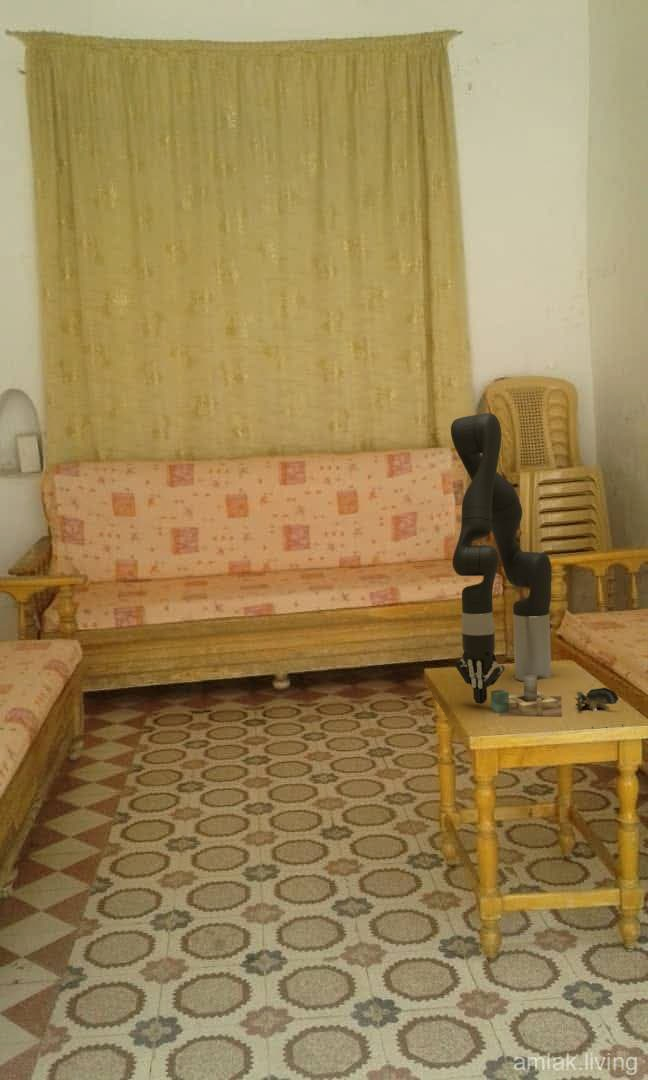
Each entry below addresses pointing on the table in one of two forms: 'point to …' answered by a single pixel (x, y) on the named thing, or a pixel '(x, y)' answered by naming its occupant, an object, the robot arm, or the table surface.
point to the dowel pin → (539, 706)
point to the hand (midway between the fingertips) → (480, 702)
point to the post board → (534, 714)
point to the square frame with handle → (519, 702)
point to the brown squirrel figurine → (596, 699)
